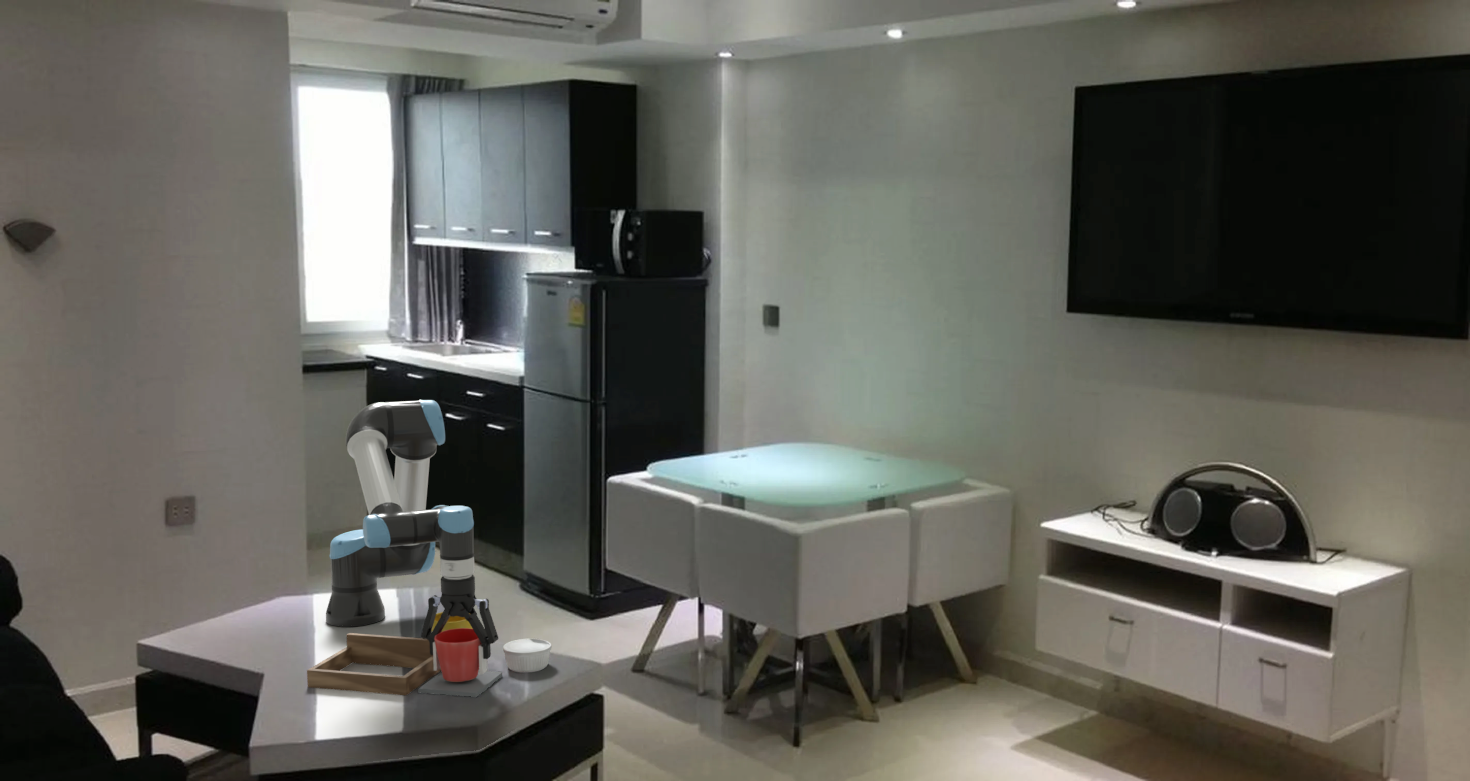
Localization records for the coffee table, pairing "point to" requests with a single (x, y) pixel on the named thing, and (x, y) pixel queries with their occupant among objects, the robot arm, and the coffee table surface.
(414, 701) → the coffee table surface
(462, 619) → the plant pot
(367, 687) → the frame
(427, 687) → the rubber mat
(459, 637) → the flower pot
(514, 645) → the ramekin
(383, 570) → the robot arm
